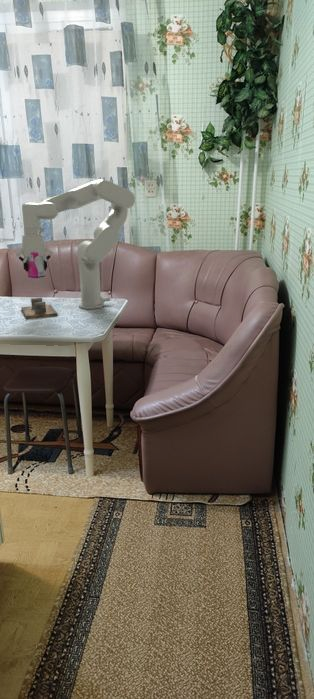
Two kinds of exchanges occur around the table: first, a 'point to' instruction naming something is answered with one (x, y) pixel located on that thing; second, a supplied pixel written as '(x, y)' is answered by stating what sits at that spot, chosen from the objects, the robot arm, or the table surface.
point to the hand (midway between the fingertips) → (35, 270)
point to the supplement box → (35, 266)
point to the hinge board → (38, 309)
